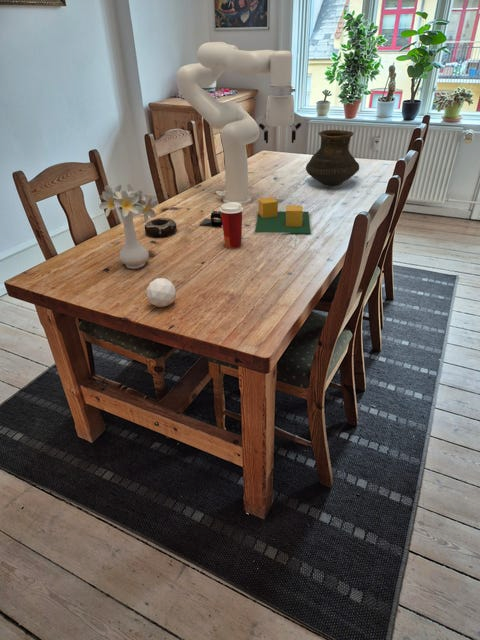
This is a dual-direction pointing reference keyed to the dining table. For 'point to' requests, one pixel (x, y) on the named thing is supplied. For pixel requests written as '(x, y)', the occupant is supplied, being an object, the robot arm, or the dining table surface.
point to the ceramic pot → (333, 159)
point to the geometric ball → (161, 292)
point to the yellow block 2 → (294, 215)
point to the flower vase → (129, 221)
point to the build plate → (213, 220)
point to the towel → (281, 225)
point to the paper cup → (232, 224)
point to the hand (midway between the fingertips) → (279, 142)
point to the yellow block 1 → (268, 207)
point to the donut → (160, 227)
